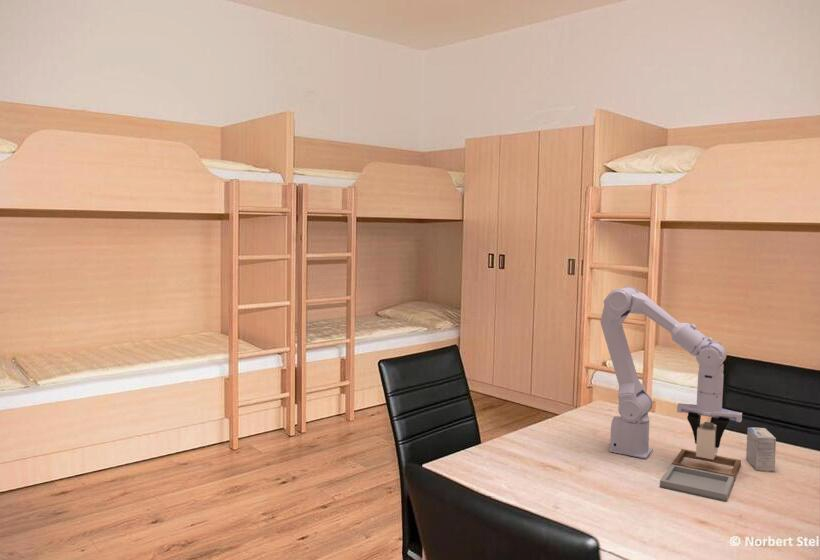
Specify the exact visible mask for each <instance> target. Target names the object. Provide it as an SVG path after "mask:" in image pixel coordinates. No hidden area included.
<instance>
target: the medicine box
mask: <svg viewBox="0 0 820 560" xmlns="http://www.w3.org/2000/svg"><path fill="white" fill-rule="evenodd" d="M746 432H747V433H746V452H745V453H746V454H745V456H746V457H745V458H746V460H747V461H748V462H749V463H750V465H751V466H752V467H753V468H754V469H755V470H756V471H758V472H759V471H761V472H773V471H774V472H775V471H776V452H777V451H776V450H777V448H776V446H777V438H776V437H775V436H774V435H773V434H772V433H771V432H770V431H768V429H767V428H765V427H747V431H746Z"/></svg>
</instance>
